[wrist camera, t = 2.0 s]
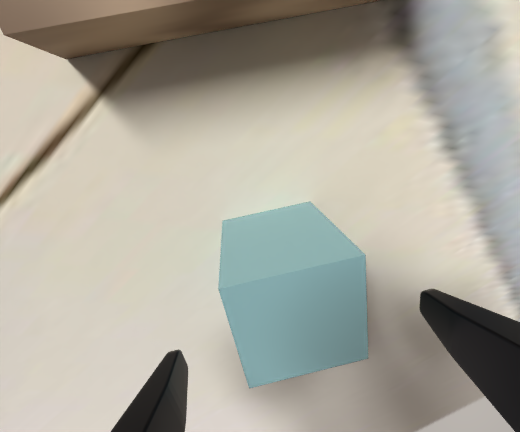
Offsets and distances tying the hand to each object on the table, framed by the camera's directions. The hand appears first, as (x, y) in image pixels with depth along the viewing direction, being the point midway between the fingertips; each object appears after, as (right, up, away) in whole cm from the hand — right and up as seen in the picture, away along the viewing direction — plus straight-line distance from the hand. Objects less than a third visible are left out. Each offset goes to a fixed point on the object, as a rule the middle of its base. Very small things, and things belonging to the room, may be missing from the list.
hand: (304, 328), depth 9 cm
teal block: (-1, +2, +6) cm, 6 cm away
